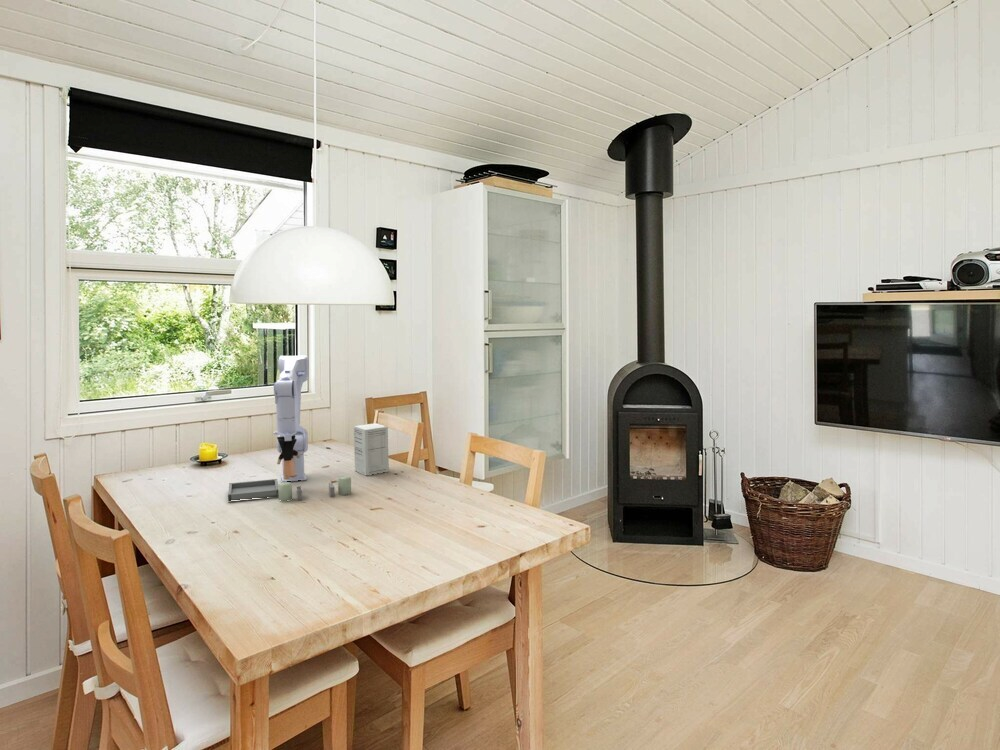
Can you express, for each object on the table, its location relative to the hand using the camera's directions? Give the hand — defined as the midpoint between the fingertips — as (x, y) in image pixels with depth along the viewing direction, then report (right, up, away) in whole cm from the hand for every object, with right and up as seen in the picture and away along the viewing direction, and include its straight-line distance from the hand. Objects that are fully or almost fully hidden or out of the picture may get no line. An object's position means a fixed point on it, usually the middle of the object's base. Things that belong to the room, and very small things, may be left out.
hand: (287, 459), depth 199 cm
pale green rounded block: (+2, -11, -8) cm, 14 cm away
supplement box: (+22, -8, +26) cm, 35 cm away
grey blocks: (+11, -11, -5) cm, 16 cm away
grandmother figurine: (+1, -6, +1) cm, 6 cm away
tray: (-10, -11, -2) cm, 15 cm away
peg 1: (+19, -11, -1) cm, 22 cm away
